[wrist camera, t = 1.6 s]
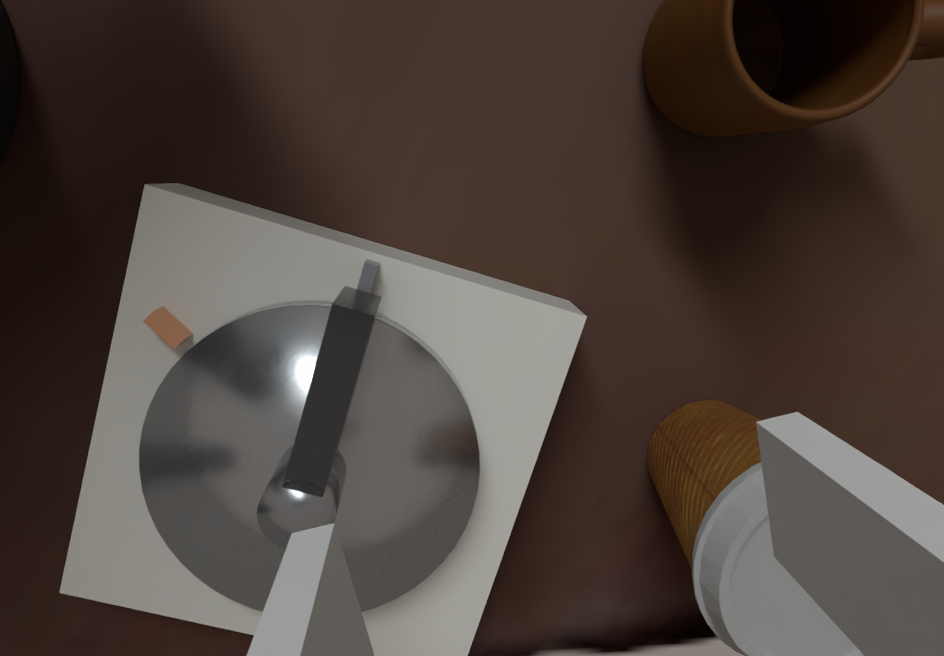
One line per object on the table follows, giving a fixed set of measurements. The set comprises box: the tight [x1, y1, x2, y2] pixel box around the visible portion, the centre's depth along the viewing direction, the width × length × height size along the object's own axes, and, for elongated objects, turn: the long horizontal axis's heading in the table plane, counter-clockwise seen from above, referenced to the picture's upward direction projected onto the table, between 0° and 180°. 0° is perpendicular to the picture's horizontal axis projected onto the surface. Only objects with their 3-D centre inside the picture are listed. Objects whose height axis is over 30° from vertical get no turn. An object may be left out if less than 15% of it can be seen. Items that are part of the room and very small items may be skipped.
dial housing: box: [59, 183, 587, 656], centre depth 33 cm, size 20×20×5 cm
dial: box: [139, 286, 480, 612], centre depth 29 cm, size 16×15×5 cm
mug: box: [643, 0, 944, 137], centre depth 28 cm, size 12×8×9 cm, turn 90°
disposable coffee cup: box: [647, 400, 892, 656], centre depth 31 cm, size 10×10×12 cm
